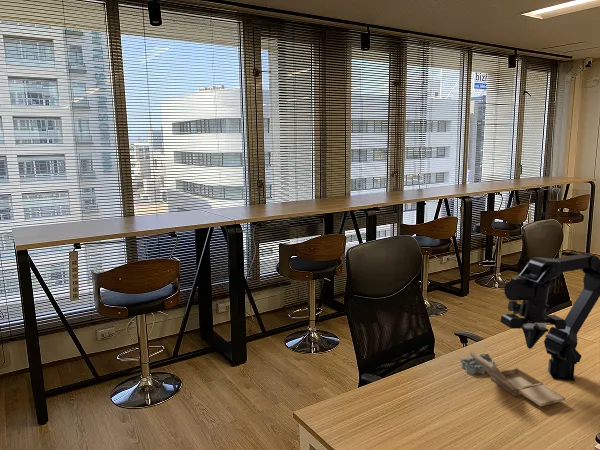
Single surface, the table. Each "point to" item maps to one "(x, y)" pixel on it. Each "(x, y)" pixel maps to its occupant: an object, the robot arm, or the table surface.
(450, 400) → the table surface
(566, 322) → the robot arm
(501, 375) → the flap
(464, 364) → the egg carton
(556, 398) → the carton
